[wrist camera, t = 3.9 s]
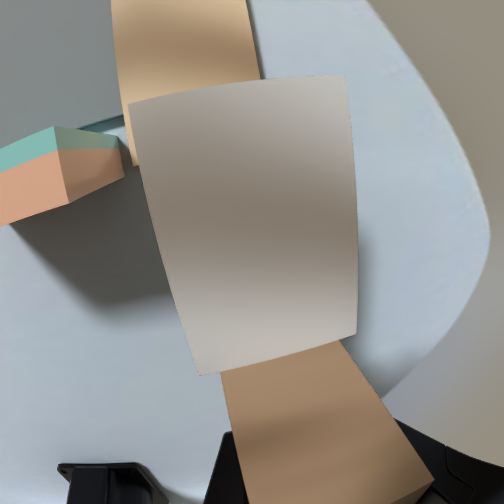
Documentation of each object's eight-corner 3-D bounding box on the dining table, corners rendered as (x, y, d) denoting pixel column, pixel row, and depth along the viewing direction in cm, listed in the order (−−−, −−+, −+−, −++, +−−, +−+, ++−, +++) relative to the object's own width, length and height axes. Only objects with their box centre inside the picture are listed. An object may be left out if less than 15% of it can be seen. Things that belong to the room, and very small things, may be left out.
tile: (124, 176, 11) (68, 203, 5) (3, 215, 10) (-87, 264, 5) (117, 136, 10) (53, 125, 5) (-6, 180, 10) (-101, 209, 4)
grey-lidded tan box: (340, 425, 10) (396, 531, 6) (234, 455, 10) (265, 576, 5) (331, 79, 6) (557, 52, 1) (132, 106, 5) (-32, 45, 1)
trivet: (126, 114, 10) (124, 113, 10) (-17, 168, 9) (-22, 169, 9) (112, -58, 7) (110, -63, 7) (-19, 0, 6) (-23, -2, 6)
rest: (266, 139, 12) (270, 139, 11) (135, 165, 11) (133, 166, 10) (237, -17, 9) (240, -23, 9) (113, 4, 8) (110, -2, 8)
